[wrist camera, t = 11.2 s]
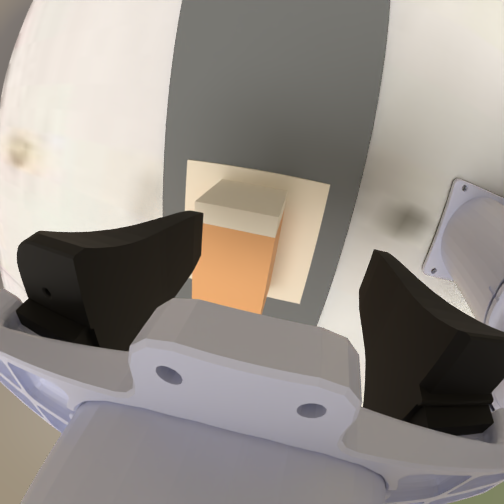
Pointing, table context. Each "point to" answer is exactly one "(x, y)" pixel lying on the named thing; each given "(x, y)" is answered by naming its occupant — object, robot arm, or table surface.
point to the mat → (278, 107)
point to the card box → (238, 244)
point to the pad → (293, 224)
